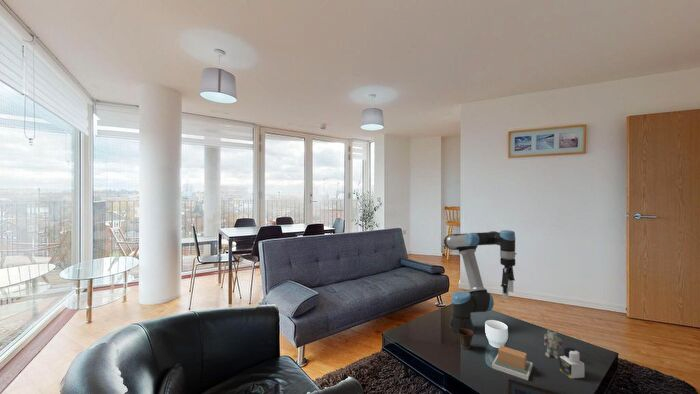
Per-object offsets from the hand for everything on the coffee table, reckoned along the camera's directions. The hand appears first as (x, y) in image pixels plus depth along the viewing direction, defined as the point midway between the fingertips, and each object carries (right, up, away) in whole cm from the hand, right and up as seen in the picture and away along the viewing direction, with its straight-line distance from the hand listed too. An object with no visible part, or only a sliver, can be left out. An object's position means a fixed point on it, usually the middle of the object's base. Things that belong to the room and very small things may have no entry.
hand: (508, 295), depth 165 cm
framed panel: (-6, -32, -16) cm, 36 cm away
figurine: (+20, -32, -7) cm, 38 cm away
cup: (-22, -32, +4) cm, 40 cm away
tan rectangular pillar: (-6, -30, -16) cm, 34 cm away
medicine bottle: (+20, -32, -22) cm, 43 cm away
